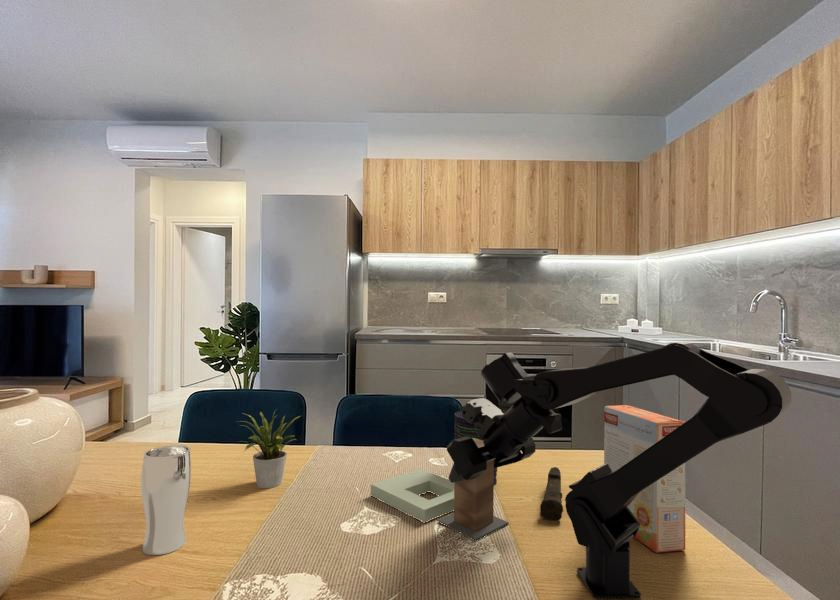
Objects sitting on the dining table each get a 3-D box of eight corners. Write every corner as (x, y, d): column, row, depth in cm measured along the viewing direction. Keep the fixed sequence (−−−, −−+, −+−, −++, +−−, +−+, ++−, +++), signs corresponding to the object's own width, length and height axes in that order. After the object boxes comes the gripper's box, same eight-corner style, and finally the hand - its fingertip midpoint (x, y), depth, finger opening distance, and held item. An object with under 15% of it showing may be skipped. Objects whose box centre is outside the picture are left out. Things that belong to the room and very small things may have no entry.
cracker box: (688, 551, 72) (687, 420, 73) (655, 555, 71) (655, 422, 71) (630, 513, 86) (630, 403, 86) (602, 515, 84) (602, 404, 85)
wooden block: (493, 522, 80) (494, 443, 81) (475, 531, 77) (476, 449, 77) (471, 512, 84) (472, 437, 84) (453, 520, 80) (454, 442, 81)
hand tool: (562, 524, 81) (562, 498, 81) (539, 519, 83) (540, 494, 83) (568, 487, 99) (568, 466, 99) (549, 484, 100) (549, 463, 101)
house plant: (212, 492, 92) (215, 413, 93) (252, 470, 106) (254, 400, 106) (274, 500, 89) (276, 418, 90) (307, 476, 102) (309, 404, 103)
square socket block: (474, 502, 89) (474, 489, 90) (424, 524, 80) (424, 509, 80) (420, 479, 101) (420, 468, 101) (370, 496, 92) (370, 484, 92)
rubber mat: (508, 524, 80) (508, 522, 80) (476, 541, 74) (476, 538, 74) (470, 508, 87) (470, 506, 87) (437, 522, 81) (437, 520, 81)
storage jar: (459, 470, 108) (460, 408, 108) (500, 476, 104) (501, 411, 105) (448, 485, 98) (449, 417, 99) (492, 492, 95) (493, 421, 95)
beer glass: (178, 530, 76) (180, 442, 77) (196, 544, 72) (199, 450, 72) (131, 546, 71) (135, 451, 71) (148, 562, 66) (152, 460, 67)
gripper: (522, 380, 85) (476, 428, 92) (455, 391, 72) (409, 445, 80) (559, 431, 79) (507, 477, 86) (494, 452, 66) (440, 504, 74)
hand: (467, 473), depth 82 cm, fingers open, 9 cm apart
